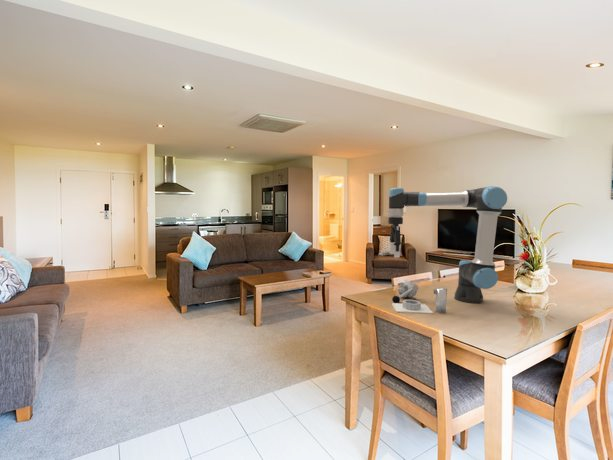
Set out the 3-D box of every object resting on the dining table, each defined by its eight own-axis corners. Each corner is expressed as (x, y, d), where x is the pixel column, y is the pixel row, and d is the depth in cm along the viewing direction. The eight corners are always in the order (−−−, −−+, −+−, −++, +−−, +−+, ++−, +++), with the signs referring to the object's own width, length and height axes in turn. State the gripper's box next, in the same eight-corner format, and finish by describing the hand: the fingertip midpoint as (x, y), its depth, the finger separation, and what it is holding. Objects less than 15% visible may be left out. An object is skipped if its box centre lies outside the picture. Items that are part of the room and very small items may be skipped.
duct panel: (425, 305, 177) (425, 298, 177) (432, 313, 163) (433, 306, 163) (391, 304, 178) (391, 297, 178) (396, 312, 164) (396, 305, 164)
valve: (411, 295, 197) (424, 293, 182) (388, 310, 191) (399, 309, 177) (402, 280, 198) (414, 277, 184) (379, 295, 193) (389, 292, 179)
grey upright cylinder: (444, 310, 169) (445, 287, 168) (447, 313, 164) (448, 290, 163) (431, 309, 169) (432, 287, 168) (434, 312, 164) (436, 289, 163)
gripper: (385, 216, 189) (384, 252, 190) (392, 217, 164) (391, 259, 166) (398, 216, 188) (397, 252, 190) (407, 217, 163) (406, 259, 165)
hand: (394, 255), depth 178 cm, fingers open, 13 cm apart
